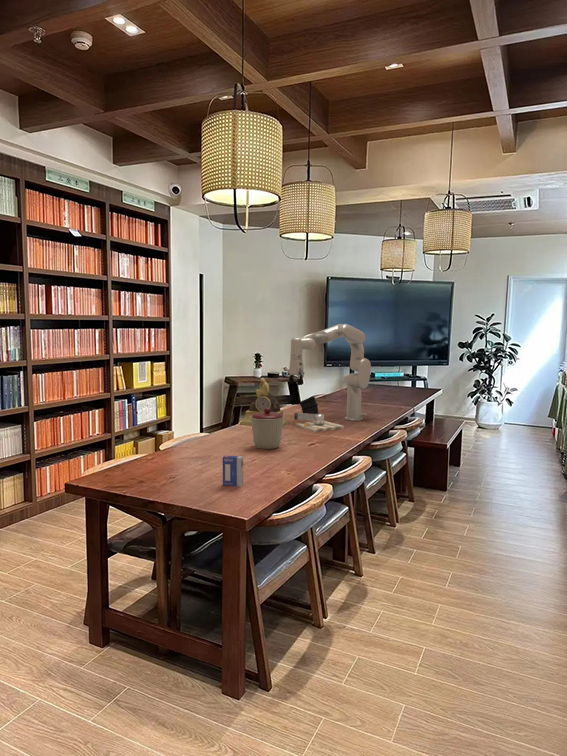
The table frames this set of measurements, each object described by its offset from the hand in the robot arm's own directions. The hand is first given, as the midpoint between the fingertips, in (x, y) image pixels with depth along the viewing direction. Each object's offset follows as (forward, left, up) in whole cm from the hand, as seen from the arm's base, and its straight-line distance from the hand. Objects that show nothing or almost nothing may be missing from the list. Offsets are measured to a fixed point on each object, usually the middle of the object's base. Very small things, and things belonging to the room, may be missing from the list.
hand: (295, 384), depth 332 cm
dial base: (-9, +14, -26) cm, 31 cm away
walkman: (+90, +93, -27) cm, 132 cm away
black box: (-23, -18, -27) cm, 40 cm away
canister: (+46, +44, -27) cm, 69 cm away
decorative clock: (+17, -11, -27) cm, 33 cm away
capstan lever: (-5, +9, -24) cm, 26 cm away
